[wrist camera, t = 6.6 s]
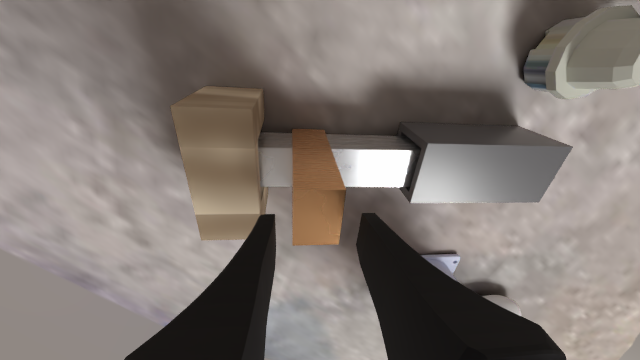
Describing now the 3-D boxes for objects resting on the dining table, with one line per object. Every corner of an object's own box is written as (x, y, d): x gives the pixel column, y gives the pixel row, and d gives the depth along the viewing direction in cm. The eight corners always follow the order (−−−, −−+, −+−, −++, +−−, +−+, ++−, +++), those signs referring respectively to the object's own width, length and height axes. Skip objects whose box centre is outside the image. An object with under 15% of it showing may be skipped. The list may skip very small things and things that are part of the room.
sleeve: (496, 173, 24) (539, 202, 20) (388, 173, 23) (410, 203, 19) (518, 126, 22) (572, 146, 18) (400, 121, 20) (428, 143, 16)
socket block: (268, 192, 22) (261, 238, 17) (222, 192, 22) (201, 240, 17) (263, 88, 18) (252, 109, 13) (205, 86, 17) (169, 106, 12)
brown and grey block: (423, 170, 22) (494, 239, 15) (241, 168, 20) (211, 247, 13) (435, 133, 20) (521, 189, 13) (236, 127, 19) (198, 189, 11)
